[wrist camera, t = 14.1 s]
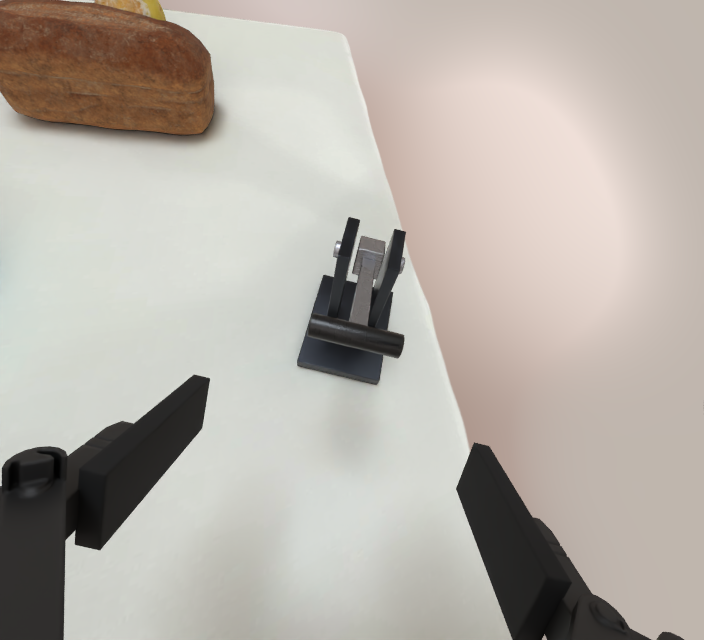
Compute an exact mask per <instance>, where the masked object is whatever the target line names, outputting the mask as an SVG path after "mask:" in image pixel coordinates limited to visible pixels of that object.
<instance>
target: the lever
mask: <svg viewBox="0 0 704 640" xmlns="http://www.w3.org/2000/svg"><path fill="white" fill-rule="evenodd" d="M384 255H385V241H381V240H377V239H373V238H369V237H365V236H361V238H360V243H359V247H358V251H357V255H356V259H355V263H354V267H353V271H352V273H353V274H356V275H359V276H358V280H357V285H356V290H355V295H354V299H353V304H352V309H351V314H350V319H349V321H346V320H342V319H337V318H333V317H329V316H325V315H321V314H317V313H313V314H312V317H311V320H310V323H309V328H308V333H307V336H308V337H312V338H316V339H320V340H324V341H328V342H332V343H336V344H340V345H344V346H349V347H353V348H357V349H361V350H365V351H369V352H373V353H377V354H381V355H386V356H390V357H394V358H399V357H400V355H401V353H402V350H403V345H404V335H402V334H398V333H394V332H390V331H386V330H382V329H378V328H374V327H370V326H368V318H369V310H370V302H371V294H372V286H373V279H377V278H378V275H379V272H380V268H381V265H382V262H383V258H384Z"/></svg>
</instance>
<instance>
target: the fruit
mask: <svg viewBox="0 0 704 640" xmlns="http://www.w3.org/2000/svg"><path fill="white" fill-rule="evenodd" d="M95 3H96V4H101V5H106V6H110V7H113V8H117V9H121V10H125V11H130V12H134V13H138V14H142V15H145V16H148V17H151V18H155V19H158V20H164V21H166V19H165V15H164V12H163V10H162V7H161V5H160V3H159V1H158V0H95Z"/></svg>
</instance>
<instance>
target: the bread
mask: <svg viewBox="0 0 704 640" xmlns="http://www.w3.org/2000/svg"><path fill="white" fill-rule="evenodd" d="M0 92H1V93H2V95H3V96H4V98H5V99H6V100H7V102H8V103H9V104H10V105H11V107H12V108H13V109H14V110H15V111H16V112H19V113H21V114H24V115H26V116H29V117H32V118H36V119H40V120H45V121H51V122H66V123H76V124H85V125H92V126H99V127H105V128H112V129H128V130H145V131H156V132H163V133H170V134H177V135H189V134H199V133H202V132H203V131H204V130H205V129H206V128H207V126H208V125H209V123H210V121H211V119H212V116H213V112H214V80H213V73H212V66H211V57H210V53H209V52H208V51H207V49H206V48H205V47H204V45H203V44H202V43H201V41H200V40H199V39H198V38H196V37H195V36H194V35H193V34H192V33H191V32H190V31H189V30H187V29H185V28H183V27H181V26H179V25H177V24H174V23H171V22H168V21H164V20H158V19H155V18H151V17H148V16H145V15H142V14H138V13H134V12H130V11H125V10H121V9H117V8H113V7H110V6H106V5H101V4H96V3H85V2H70V1H62V0H2V1H0Z"/></svg>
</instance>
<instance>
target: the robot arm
mask: <svg viewBox="0 0 704 640" xmlns="http://www.w3.org/2000/svg"><path fill="white" fill-rule="evenodd" d="M209 382H210V378H206V377H202V376H198V375H193V376H192V377H191V378H189V379H188V380H187V381H186V382H185V383H183V384H182V385H181V386H180V387H178V388H177V389H176V390H175V391H174V392H172V393H171V394H170V395H169V396H167V397H166V398H165V399H164V400H162V401H161V402H160V403H159V404H158V405H156V406H155V407H154V408H153V409H151V410H150V411H149V412H148V413H147V414H145V415H144V416H143V417H142V418H140V419H139V420H138V421H137V422H136V423H134V424H132V423H128V422H124V421H121V422H118V423H116V424H113V425H111V426H108V427H106V428H105V429H104V430H102V431H101V432H100V433H98V434H97V435H95V437H94V438H91V439H90V440H89V441H87V442H86V443H85V445H82V446H81V447H79V448H78V449H77V450H75V451H74V452H73V453H71V454H70V455H69V456H67V454H66V451H64V450H62V449H60V448H57V447H50V446H48V447H37V448H33V449H29V450H25V451H23V452H20V453H18V454H16V455H14V456H13V457H11V458H10V459H9V460H7V461H6V462H5V464H4V465H3V467H2V486H0V640H64V586H65V540H66V539H67V538H68V537H69V536H70V535H71V534H72V533H73V532H74V531H75V530H76V533H75V545H79V546H83V547H88V548H92V549H97V550H101V548H102V547H103V546H104V545H105V544H106V543H107V541H108V540H109V539H110V538H111V537H112V535H113V534H114V533H115V532H116V531H117V529H118V528H119V527H120V526H121V525H122V523H123V522H124V521H125V520H126V519H127V517H128V516H129V515H130V514H131V513H132V511H133V510H134V509H135V508H136V507H137V505H138V504H139V503H140V502H141V501H142V500H143V498H144V497H145V496H146V495H147V494H148V492H149V491H150V490H151V489H152V488H153V486H154V485H155V484H156V483H157V482H158V480H159V479H160V478H161V477H162V476H163V474H164V473H165V472H166V471H167V470H168V468H169V467H170V466H171V465H172V464H173V463H174V461H175V460H176V459H177V458H178V457H179V455H180V454H181V453H182V452H183V451H184V449H185V448H186V447H187V446H188V445H189V443H190V442H191V441H192V440H193V439H194V437H195V436H196V435H197V434H198V433H199V431H200V430H201V429H202V426H203V420H204V413H205V407H206V401H207V394H208V388H209ZM456 490H457V492H458V495H459V498H460V500H461V503H462V506H463V509H464V511H465V514H466V517H467V519H468V522H469V525H470V527H471V530H472V533H473V535H474V538H475V541H476V543H477V546H478V549H479V551H480V554H481V557H482V559H483V562H484V565H485V567H486V570H487V573H488V575H489V578H490V581H491V583H492V586H493V589H494V591H495V594H496V597H497V599H498V602H499V605H500V607H501V610H502V613H503V615H504V618H505V621H506V623H507V626H508V629H509V632H510V634H511V637H512V640H542V638H543V636H544V634H545V636H546V638H547V640H651V639H649V638H647V637H645V636H643V635H641V634H639V633H638V632H636V631H634V630H632V629H630V628H629V626H628V625H627V623H626V622H625V620H624V618H623V617H622V616H621V615H620V614H619V613H618V612H617V610H615V608H613V607H612V606H611V605H610V604H609V603H607V602H606V601H605V600H603V599H601V598H600V597H598V596H596V595H593V594H592V593H591V591H590V590H589V588H588V587H587V585H586V584H585V582H584V581H583V579H582V577H581V576H580V574H579V573H578V571H577V570H576V568H575V567H574V565H573V564H572V562H571V560H570V559H569V557H567V555H566V553H565V551H564V550H563V548H562V547H561V546H560V544H559V542H558V540H557V539H556V537H555V536H554V534H553V533H552V531H551V530H550V529H549V528H548V527H547V526H546V525H545V524H544V523H543V522H542V521H541V520H540V519H538V518H533V517H532V516H531V514H530V513H529V511H528V510H527V508H526V506H525V505H524V503H523V501H522V499H521V498H520V496H519V495H518V493H517V491H516V490H515V488H514V486H513V485H512V483H511V481H510V480H509V478H508V476H507V475H506V473H505V471H504V470H503V468H502V467H501V465H500V463H499V462H498V460H497V458H496V457H495V455H494V453H493V452H492V450H491V449H490V447H489V446H486V445H482V444H478V443H474V444H473V447H472V449H471V452H470V454H469V457H468V460H467V462H466V465H465V467H464V470H463V472H462V475H461V478H460V480H459V483H458V485H457V488H456ZM657 640H684V639H682V638H681V637H679V636H677V635H675V634H672V633H670V632H662V633H661V634H660V635H659V637H658V638H657Z"/></svg>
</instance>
